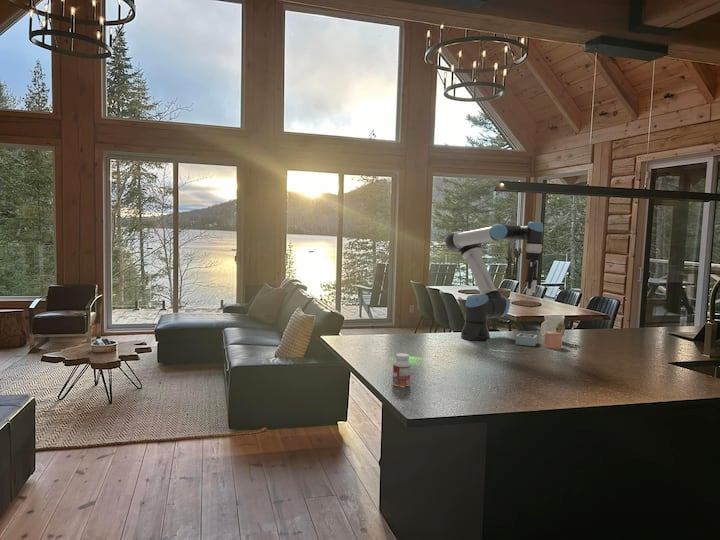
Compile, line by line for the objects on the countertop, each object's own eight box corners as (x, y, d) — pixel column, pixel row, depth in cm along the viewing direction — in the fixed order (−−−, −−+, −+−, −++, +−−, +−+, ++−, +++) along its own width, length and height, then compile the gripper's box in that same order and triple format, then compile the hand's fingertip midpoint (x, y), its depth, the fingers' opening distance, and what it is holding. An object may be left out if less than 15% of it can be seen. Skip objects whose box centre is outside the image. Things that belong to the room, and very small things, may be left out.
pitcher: (532, 340, 283) (533, 315, 282) (554, 338, 292) (555, 313, 291) (549, 344, 273) (550, 318, 273) (571, 341, 283) (572, 316, 282)
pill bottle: (391, 382, 190) (392, 352, 190) (408, 383, 191) (409, 352, 190) (394, 387, 184) (395, 356, 184) (411, 387, 185) (412, 356, 184)
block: (522, 344, 268) (523, 336, 268) (521, 342, 272) (522, 334, 272) (530, 344, 267) (531, 336, 267) (530, 343, 271) (530, 335, 271)
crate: (515, 345, 268) (515, 335, 267) (518, 342, 276) (519, 333, 275) (534, 347, 263) (534, 337, 263) (537, 344, 272) (537, 335, 271)
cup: (543, 349, 261) (544, 333, 261) (545, 346, 268) (546, 330, 268) (560, 351, 257) (561, 334, 257) (562, 348, 265) (563, 332, 264)
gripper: (538, 253, 254) (535, 296, 256) (544, 252, 277) (541, 292, 278) (522, 252, 257) (519, 295, 259) (529, 251, 280) (526, 291, 281)
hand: (530, 293), depth 269 cm, fingers open, 13 cm apart
